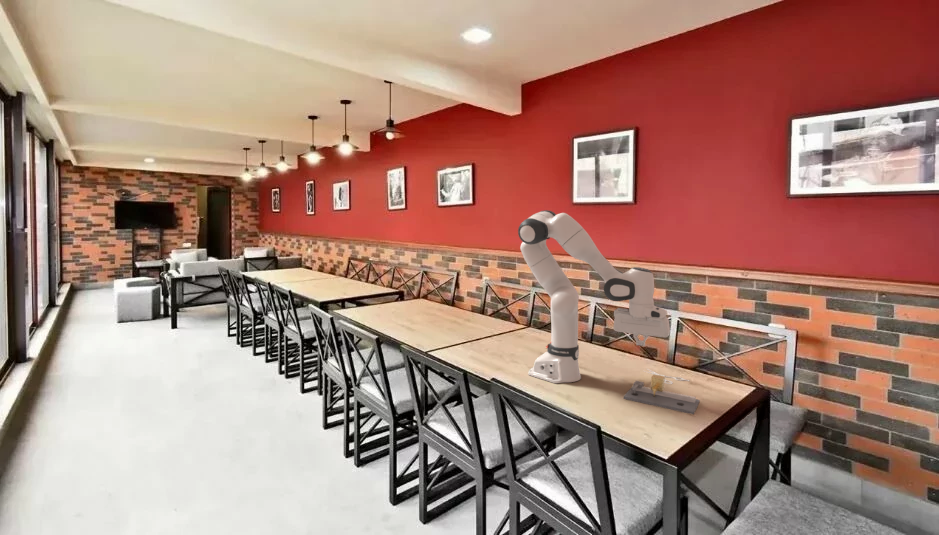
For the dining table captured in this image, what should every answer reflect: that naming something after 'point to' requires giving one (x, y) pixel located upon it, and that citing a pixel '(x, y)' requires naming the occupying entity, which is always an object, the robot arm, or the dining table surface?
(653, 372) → the scissors
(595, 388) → the dining table surface
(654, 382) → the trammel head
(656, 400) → the plate
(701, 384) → the dining table surface
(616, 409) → the dining table surface
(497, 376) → the dining table surface
